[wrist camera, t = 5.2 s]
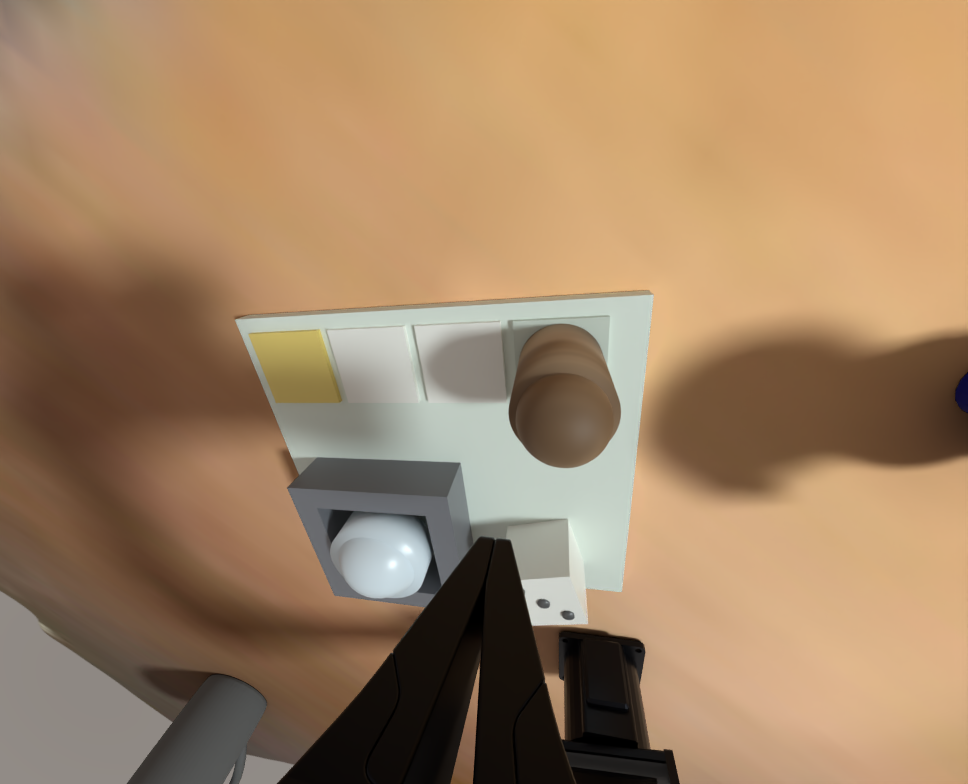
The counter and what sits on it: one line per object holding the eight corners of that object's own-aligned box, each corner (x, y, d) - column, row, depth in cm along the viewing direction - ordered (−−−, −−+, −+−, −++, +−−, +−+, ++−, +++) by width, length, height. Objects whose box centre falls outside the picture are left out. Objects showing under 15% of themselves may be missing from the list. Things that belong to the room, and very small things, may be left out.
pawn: (599, 400, 18) (624, 499, 12) (519, 399, 19) (504, 491, 12) (606, 322, 16) (640, 391, 10) (518, 324, 17) (498, 389, 11)
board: (619, 578, 25) (622, 596, 24) (341, 551, 30) (332, 564, 29) (648, 290, 16) (655, 296, 15) (248, 314, 21) (230, 320, 20)
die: (583, 562, 24) (588, 625, 20) (526, 567, 25) (520, 627, 21) (568, 518, 22) (569, 578, 19) (507, 526, 23) (498, 583, 20)
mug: (194, 670, 48) (92, 799, 37) (246, 675, 45) (152, 815, 35) (246, 722, 53) (170, 847, 43) (295, 729, 51) (226, 864, 40)
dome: (448, 550, 26) (423, 627, 21) (372, 544, 27) (332, 615, 22) (434, 486, 23) (402, 557, 18) (351, 481, 24) (301, 547, 20)
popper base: (478, 572, 26) (469, 612, 23) (355, 559, 28) (334, 595, 26) (460, 462, 22) (447, 497, 19) (317, 457, 24) (287, 487, 21)
